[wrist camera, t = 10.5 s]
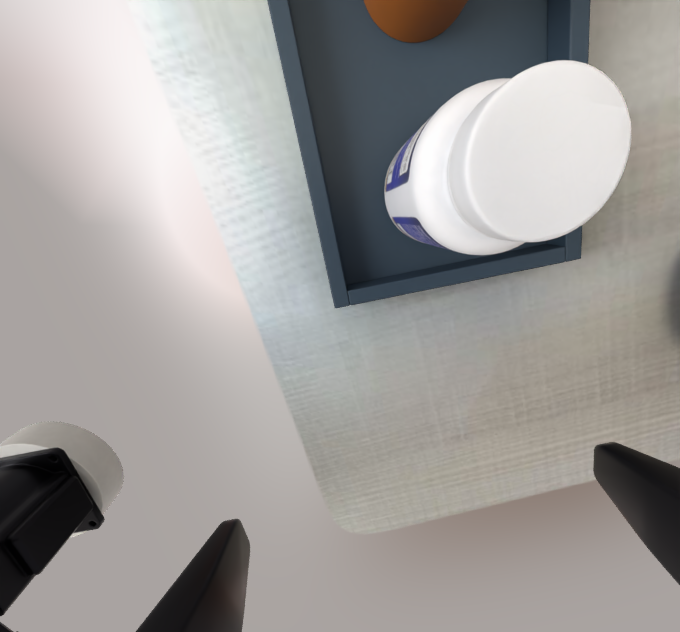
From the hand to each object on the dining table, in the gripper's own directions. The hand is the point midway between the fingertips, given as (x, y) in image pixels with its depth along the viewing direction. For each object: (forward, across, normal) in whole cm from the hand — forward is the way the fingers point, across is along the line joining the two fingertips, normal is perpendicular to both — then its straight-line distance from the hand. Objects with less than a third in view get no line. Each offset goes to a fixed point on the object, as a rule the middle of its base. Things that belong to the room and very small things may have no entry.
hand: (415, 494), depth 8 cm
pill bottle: (+11, -5, -7) cm, 14 cm away
